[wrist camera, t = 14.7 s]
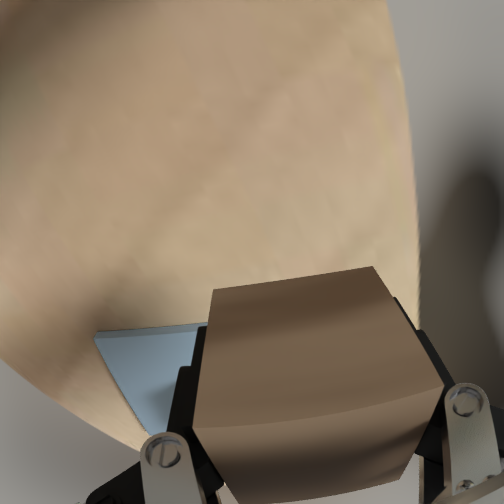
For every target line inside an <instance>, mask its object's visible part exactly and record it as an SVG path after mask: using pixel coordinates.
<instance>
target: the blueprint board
mask: <svg viewBox="0 0 504 504" xmlns="http://www.w3.org/2000/svg"><path fill="white" fill-rule="evenodd" d="M207 325H208V322H206V323H197V324H187V325H177V326H167V327H156V328H145V329H132V330H118V331H103V332H97V333H96V335H95V336H94V338H93V340H94V342H95V344H96V346H97V348H98V350H99V352H100V353H101V355H102V357H103V359H104V361H105V363H106V365H107V367H108V368H109V370H110V372H111V374H112V376H113V377H114V379H115V381H116V383H117V384H118V386H119V388H120V390H121V391H122V393H123V395H124V396H125V398H126V400H127V401H128V403H129V405H130V406H131V408H132V409H133V411H134V413H135V414H136V416H137V417H138V419H139V420H140V422H141V423H142V425H143V427H144V428H145V430H146V431H147V433H148V434H149V435H155V434H158V433H161V432H166V430H167V425H168V419H169V414H170V409H171V405H172V400H173V395H174V390H175V385H176V380H177V376H178V371H179V368H180V367H181V366H191V361H192V356H193V350H194V345H195V340H196V335H197V329H198V327H199V326H207Z"/></svg>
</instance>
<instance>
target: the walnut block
mask: <svg viewBox="0 0 504 504" xmlns="http://www.w3.org/2000/svg"><path fill="white" fill-rule="evenodd" d="M443 387H444V384H443V382H442V380H441V378H440V376H439V375H438V373H437V371H436V369H435V367H434V365H433V364H432V362H431V360H430V358H429V357H428V355H427V353H426V351H425V350H424V348H423V346H422V344H421V343H420V341H419V339H418V338H417V336H416V334H415V333H414V331H413V329H412V327H411V326H410V324H409V323H408V321H407V319H406V318H405V316H404V314H403V313H402V311H401V309H400V308H399V306H398V305H397V303H396V301H395V300H394V298H393V297H392V295H391V294H390V292H389V290H388V289H387V287H386V286H385V284H384V283H383V281H382V280H381V278H380V277H379V275H378V274H377V272H376V271H375V269H374V268H373V266H370V267H364V268H358V269H352V270H346V271H339V272H333V273H326V274H320V275H313V276H307V277H300V278H293V279H287V280H280V281H273V282H266V283H258V284H251V285H244V286H236V287H229V288H221V289H214V290H213V294H212V300H211V306H210V312H209V318H208V325H207V331H206V337H205V344H204V350H203V357H202V364H201V370H200V377H199V384H198V391H197V398H196V405H195V412H194V420H193V427H192V428H193V430H194V432H195V434H196V435H197V437H198V439H199V441H200V442H201V444H202V446H203V448H204V449H205V451H206V453H207V454H208V456H209V458H210V459H211V461H212V463H213V464H214V466H215V468H216V469H217V471H218V472H219V474H220V476H221V477H222V479H223V480H224V482H225V483H226V485H227V486H228V488H229V489H230V491H231V493H232V494H233V496H234V497H235V499H236V500H237V501H238V503H239V504H272V503H283V502H292V501H299V500H308V499H314V498H321V497H327V496H332V495H338V494H342V493H347V492H352V491H357V490H361V489H366V488H370V487H373V486H378V485H382V484H385V483H389V482H392V481H395V480H399V479H400V477H401V475H402V474H403V472H404V470H405V468H406V467H407V465H408V463H409V461H410V459H411V457H412V455H413V454H414V452H415V450H416V448H417V446H418V444H419V442H420V440H421V438H422V436H423V434H424V431H425V429H426V427H427V425H428V423H429V421H430V418H431V416H432V414H433V412H434V409H435V407H436V405H437V402H438V400H439V398H440V395H441V393H442V390H443Z"/></svg>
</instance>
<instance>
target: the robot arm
mask: <svg viewBox="0 0 504 504" xmlns="http://www.w3.org/2000/svg"><path fill="white" fill-rule="evenodd" d="M393 298H394V300H395V301H396V303H397V305H398V306H399V308H400V309H401V311H402V313H403V314H404V316H405V318H406V319H407V321H408V323H409V324H410V326H411V327H412V329H413V331H414V333H415V334H416V336H417V338H418V339H419V341H420V343H421V344H422V346H423V348H424V350H425V351H426V353H427V355H428V357H429V358H430V360H431V362H432V364H433V365H434V367H435V369H436V371H437V373H438V375H439V376H440V378H441V380H442V382H443V384H444V387H443V390H442V393H441V395H440V398H439V400H438V402H437V405H436V407H435V409H434V412H433V414H432V416H431V418H430V421H429V423H428V425H427V427H426V429H425V431H424V434H423V436H422V438H421V440H420V442H419V444H418V446H417V448H416V450H415V452H414V453H415V454H417V455H419V504H504V410H503V409H500V408H497V407H494V406H491V405H489V402H488V398H487V396H486V394H485V392H484V391H483V390H482V389H481V388H479V387H478V386H476V385H474V384H470V383H461V384H457V385H455V383H454V381H453V379H452V377H451V376H450V374H449V372H448V370H447V369H446V367H445V365H444V364H443V362H442V360H441V358H440V357H439V355H438V353H437V352H436V350H435V348H434V347H433V345H432V343H431V342H430V340H429V339H428V337H427V336H426V334H425V332H424V331H423V330H421V329H420V330H416V328H415V327H414V325H413V323H412V322H411V320H410V319H409V317H408V315H407V314H406V312H405V311H404V309H403V307H402V306H401V304H400V303H399V301H398V300H397V298H396V297H393ZM206 331H207V326H199V327H198V329H197V335H196V340H195V345H194V350H193V356H192V361H191V366H181V367H180V368H179V371H178V376H177V380H176V385H175V390H174V395H173V400H172V405H171V409H170V414H169V419H168V425H167V430H166V432H161V433H158V434H155V435H153V436H152V437H150V438H148V439H147V440H146V442H145V443H144V444H143V446H142V448H141V450H140V461H139V462H138V463H136V464H135V465H133V466H132V467H130V468H129V469H127V470H126V471H124V472H122V473H121V474H120V475H118V476H116V477H115V478H113V479H112V480H110V481H108V482H107V483H105V484H104V485H102V486H100V487H99V488H97V489H96V490H94V491H93V492H92V493H91V494H90V495H89V496H88V498H87V500H86V503H84V504H222V503H221V499H220V496H219V493H218V489H220V488H221V487H222V486H223V485H224V480H223V479H222V477H221V476H220V474H219V472H218V471H217V469H216V468H215V466H214V464H213V463H212V461H211V459H210V458H209V456H208V454H207V453H206V451H205V449H204V448H203V446H202V444H201V442H200V441H199V439H198V437H197V435H196V434H195V432H194V430H193V428H192V427H193V420H194V412H195V405H196V398H197V391H198V384H199V377H200V370H201V364H202V357H203V350H204V344H205V337H206ZM76 504H81V503H79V502H78V503H76Z"/></svg>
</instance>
